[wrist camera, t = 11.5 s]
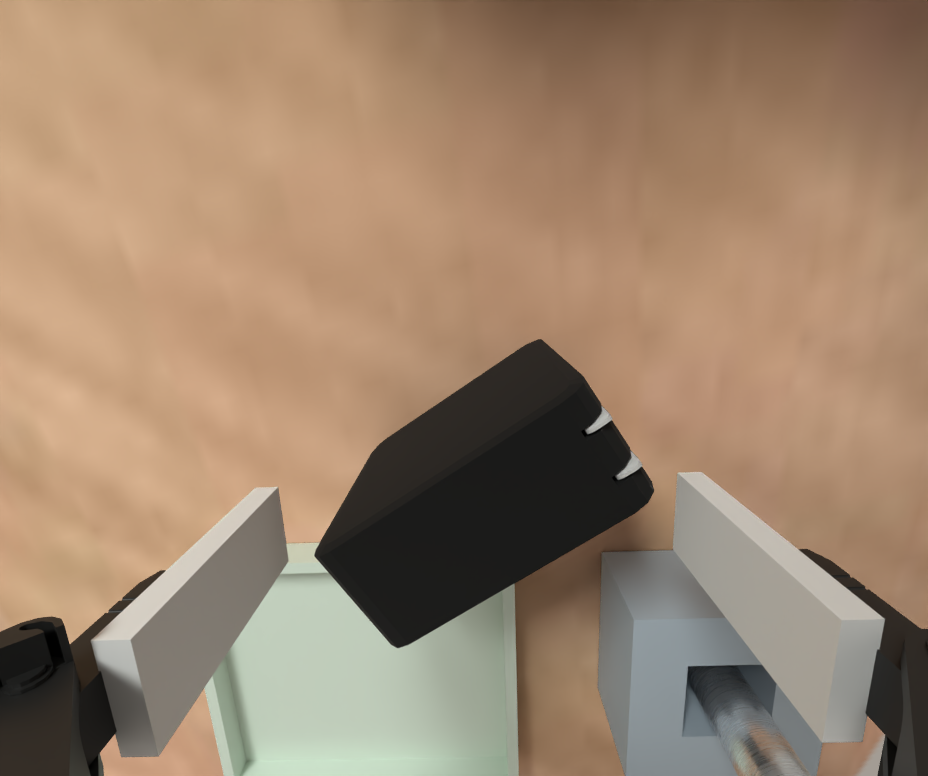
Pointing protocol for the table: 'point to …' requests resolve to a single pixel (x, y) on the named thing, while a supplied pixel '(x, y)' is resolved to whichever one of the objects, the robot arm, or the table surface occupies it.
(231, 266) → the table surface
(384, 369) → the table surface
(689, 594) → the square hole cube
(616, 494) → the electronic device
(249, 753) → the tray
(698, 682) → the cylinder
